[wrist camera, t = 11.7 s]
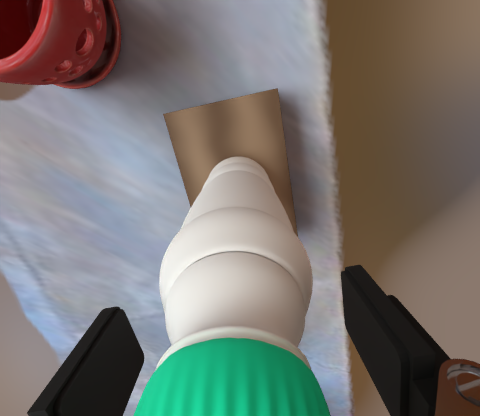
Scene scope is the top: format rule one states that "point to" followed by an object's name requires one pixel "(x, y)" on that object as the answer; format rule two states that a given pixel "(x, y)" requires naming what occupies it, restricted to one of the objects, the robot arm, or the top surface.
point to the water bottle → (235, 306)
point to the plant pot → (58, 41)
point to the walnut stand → (232, 141)
